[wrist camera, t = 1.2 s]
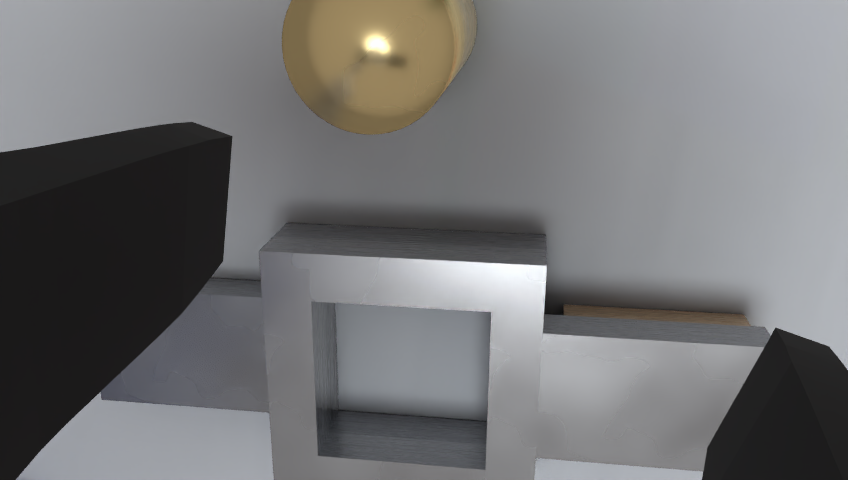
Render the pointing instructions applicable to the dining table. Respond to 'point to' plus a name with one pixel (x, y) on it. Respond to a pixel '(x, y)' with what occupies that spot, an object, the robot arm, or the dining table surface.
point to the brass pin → (375, 57)
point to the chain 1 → (246, 357)
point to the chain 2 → (498, 365)
